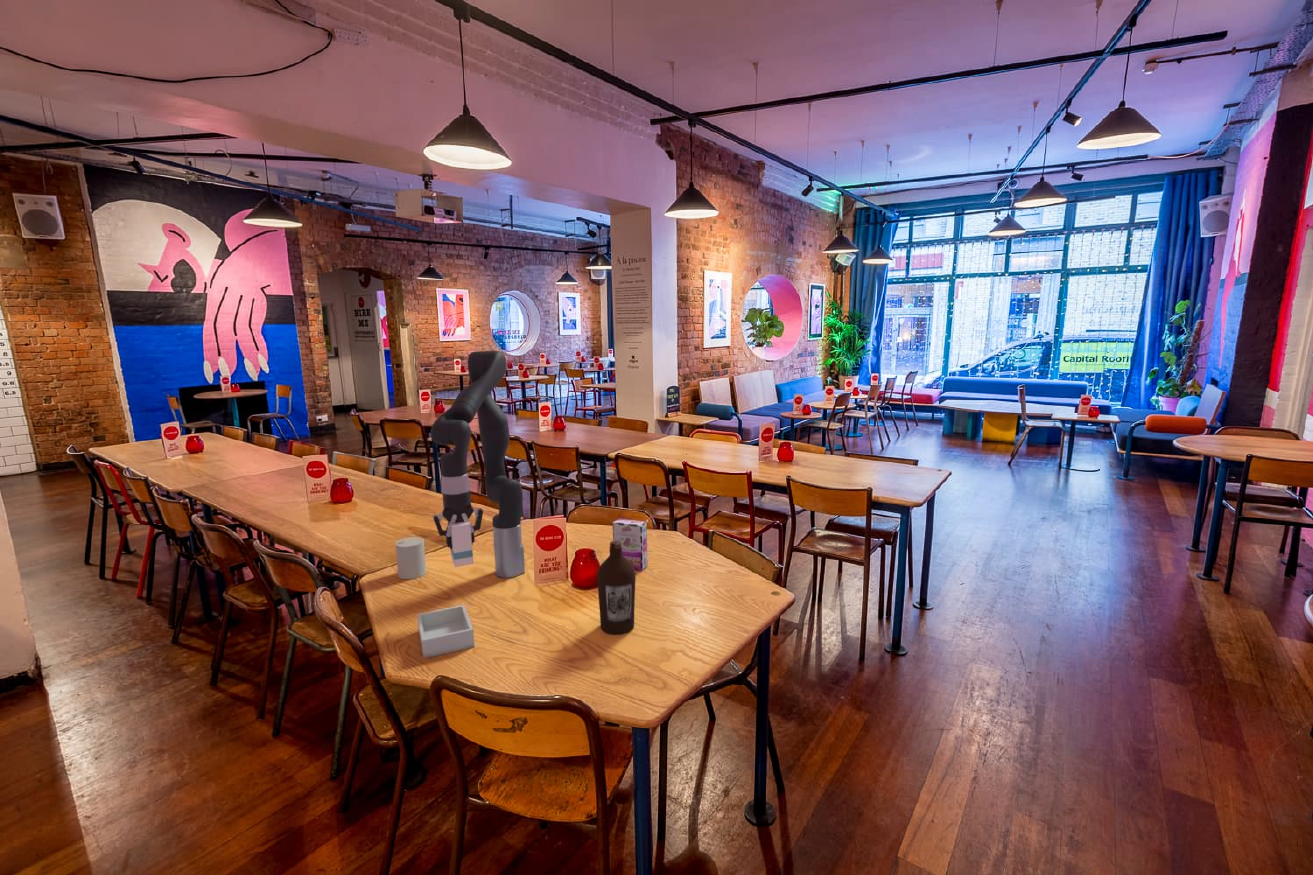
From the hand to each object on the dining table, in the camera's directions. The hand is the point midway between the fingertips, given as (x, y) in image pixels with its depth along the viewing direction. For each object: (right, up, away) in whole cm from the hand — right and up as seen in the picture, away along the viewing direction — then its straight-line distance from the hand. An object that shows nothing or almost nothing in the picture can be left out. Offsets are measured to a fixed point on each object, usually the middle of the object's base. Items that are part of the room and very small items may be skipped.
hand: (460, 545), depth 173 cm
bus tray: (-1, -23, -10) cm, 26 cm away
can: (-27, -15, +32) cm, 44 cm away
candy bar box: (+47, -14, +36) cm, 61 cm away
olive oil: (+45, -22, -5) cm, 51 cm away
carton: (0, -4, +1) cm, 4 cm away
